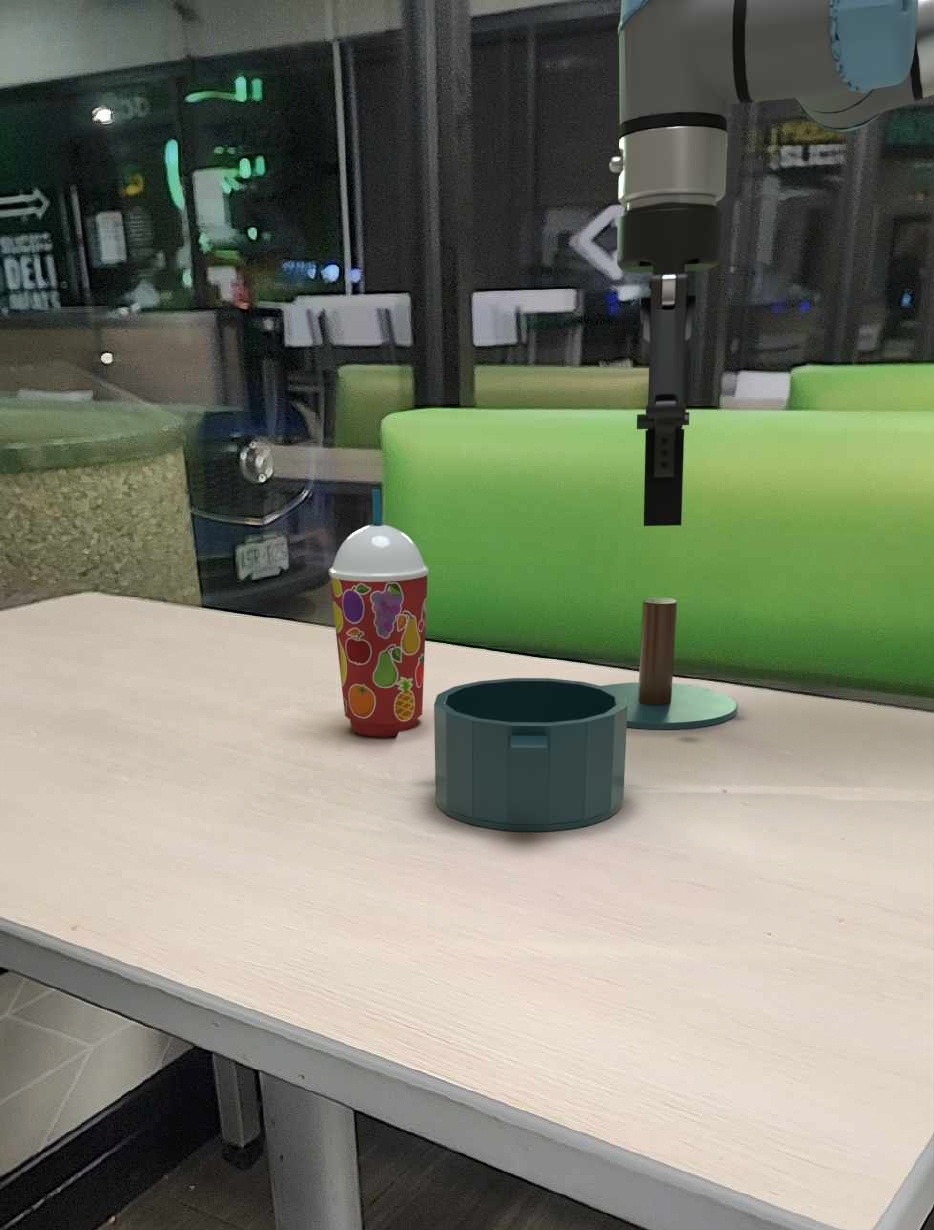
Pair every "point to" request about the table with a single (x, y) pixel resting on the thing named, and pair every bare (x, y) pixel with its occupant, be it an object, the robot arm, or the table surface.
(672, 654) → the lid
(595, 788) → the tin
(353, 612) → the smoothie
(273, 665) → the table surface
